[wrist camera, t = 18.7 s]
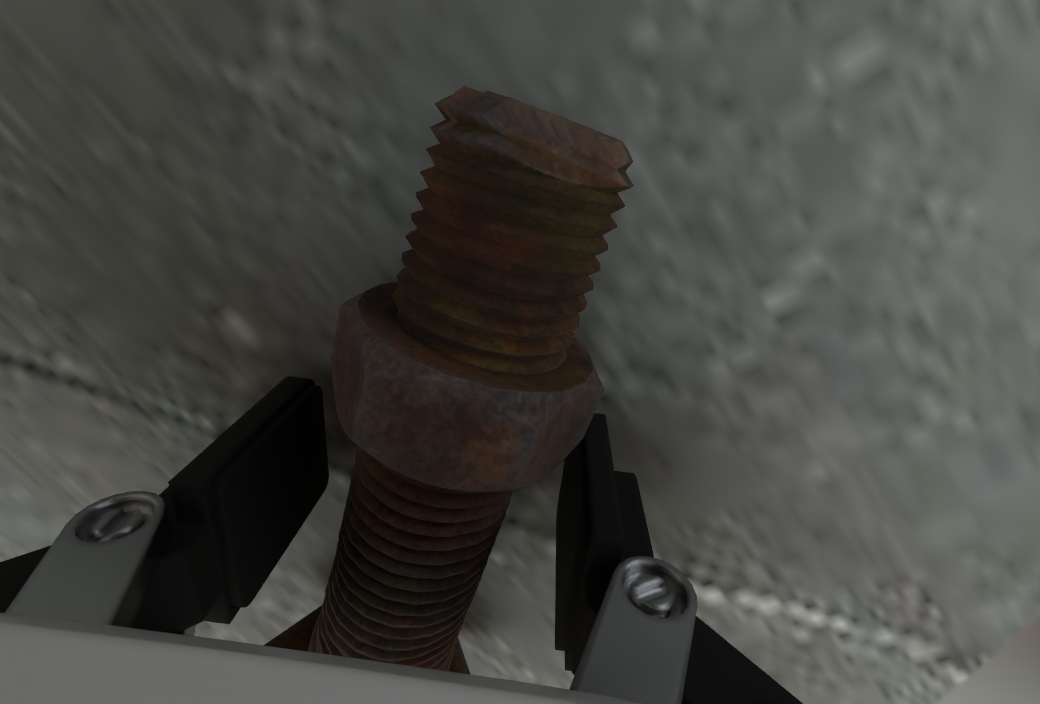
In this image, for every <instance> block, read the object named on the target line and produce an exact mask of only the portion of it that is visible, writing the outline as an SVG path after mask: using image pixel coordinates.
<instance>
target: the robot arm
mask: <svg viewBox="0 0 1040 704" xmlns="http://www.w3.org/2000/svg"><path fill="white" fill-rule="evenodd" d="M328 479H329V470H328V458H327V445H326V433H325V421H324V408H323V396H322V389H321V387H320V386H316V385H315V382H314V380H312V379H307V378H299V377H291V376H288V377H286V378H284V379H283V380H282V381H281V382H280V383H279V384H278V385H277V386H275V387H274V388H273V389H272V390H271V391H270V392H269V393H268V394H267V395H265V396H264V397H263V398H262V399H261V400H260V401H259V402H258V403H256V404H255V405H254V406H253V407H252V408H251V409H250V410H249V411H247V412H246V413H245V414H244V415H243V416H242V417H241V418H240V419H238V420H237V421H236V422H235V423H234V424H233V425H232V426H231V427H230V428H228V429H227V430H226V431H225V432H224V433H223V434H222V435H221V436H219V437H218V438H217V439H216V440H215V441H214V442H213V443H212V444H210V445H209V446H208V447H207V448H206V449H205V450H204V451H203V452H201V453H200V454H199V455H198V456H197V457H196V458H195V459H194V460H193V461H191V462H190V463H189V464H188V465H187V466H186V467H185V468H184V469H182V470H181V471H180V472H179V473H178V474H177V475H176V476H175V477H173V478H172V479H171V480H170V481H169V482H168V483H169V487H168V488H167V489H165V490H164V491H163V492H162V493H161V494H160V495H159V496H158V495H157V494H155V493H151V492H146V491H132V492H126V493H121V494H116V495H113V496H110V497H107V498H104V499H101V500H99V501H97V502H95V503H93V504H91V505H89V506H87V507H86V508H84V509H83V510H81V511H80V512H78V513H77V514H76V515H74V517H73V518H72V519H71V520H70V521H69V522H68V523H67V524H66V525H65V527H64V528H63V530H62V531H61V533H60V534H59V536H58V537H57V538H56V540H55V541H54V543H53V544H52V545H51V546H48V547H45V548H42V549H39V550H36V551H33V552H30V553H27V554H24V555H21V556H18V557H15V558H12V559H9V560H6V561H3V562H0V704H803V703H802V702H800V701H799V700H798V699H797V698H795V697H794V696H793V695H792V694H791V693H789V692H788V691H787V690H786V689H784V688H783V687H782V686H781V685H780V684H778V683H777V682H776V681H775V680H773V679H772V678H771V677H770V676H769V675H767V674H766V673H765V672H764V671H763V670H761V669H760V668H759V667H758V666H756V665H755V664H754V663H753V662H752V661H750V660H749V659H748V658H747V657H745V656H744V655H743V654H742V653H741V652H739V651H738V650H737V649H736V648H734V647H733V646H732V645H731V644H730V643H728V642H727V641H726V640H725V639H724V638H722V637H721V636H720V635H719V634H717V633H716V632H715V631H714V630H713V629H711V628H710V627H709V626H708V625H706V624H705V623H704V622H703V621H702V620H700V619H699V618H698V617H697V616H696V612H697V596H696V593H695V591H694V588H693V586H692V584H691V583H690V582H689V580H688V579H687V578H686V577H685V575H684V574H683V573H681V572H680V571H679V570H678V569H677V568H675V567H674V566H672V565H670V564H669V563H667V562H665V561H663V560H660V559H657V558H654V555H653V551H652V546H651V542H650V537H649V532H648V528H647V523H646V519H645V514H644V510H643V505H642V501H641V496H640V491H639V487H638V482H637V478H636V475H635V474H634V473H629V472H621V471H614V467H613V461H612V454H611V448H610V442H609V435H608V429H607V423H606V417H605V415H604V414H596V413H594V415H593V417H592V419H591V422H590V424H589V426H588V428H587V431H586V433H585V435H584V438H583V439H582V440H581V441H580V442H579V443H578V444H577V446H576V447H575V448H574V449H573V450H572V451H571V452H570V454H569V455H568V456H567V457H566V458H565V463H564V469H563V475H562V481H561V488H560V494H559V500H558V506H557V518H556V599H555V649H556V650H561V651H565V670H569V671H572V673H573V674H574V675H575V676H574V679H573V681H572V684H571V687H570V689H569V690H568V689H561V688H555V687H549V686H543V685H537V684H531V683H524V682H518V681H511V680H504V679H497V678H490V677H483V676H476V675H469V674H462V673H455V672H448V671H442V670H435V669H428V668H421V667H414V666H407V665H400V664H393V663H386V662H379V661H371V660H364V659H357V658H350V657H343V656H335V655H328V654H321V653H314V652H307V651H299V650H292V649H285V648H277V647H270V646H263V645H255V644H248V643H241V642H233V641H226V640H219V639H211V638H203V637H196V636H194V633H195V626H196V624H198V623H200V622H202V621H210V622H217V623H224V624H230V623H231V621H232V620H233V618H234V617H235V615H236V614H237V612H238V611H239V609H240V608H241V607H247V606H248V605H249V604H250V603H251V602H252V601H253V599H254V598H255V596H256V594H257V593H258V591H259V590H260V588H261V587H262V585H263V584H264V582H265V581H266V579H267V578H268V576H269V575H270V573H271V572H272V570H273V569H274V567H275V566H276V564H277V563H278V561H279V559H280V558H281V556H282V555H283V553H284V552H285V550H286V549H287V547H288V546H289V544H290V543H291V541H292V540H293V538H294V537H295V535H296V534H297V532H298V531H299V529H300V528H301V526H302V524H303V523H304V521H305V520H306V518H307V517H308V515H309V514H310V512H311V511H312V509H313V508H314V506H315V505H316V503H317V502H318V500H319V499H320V497H321V496H322V494H323V493H324V491H325V489H326V487H327V484H328Z"/></svg>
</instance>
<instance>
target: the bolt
mask: <svg viewBox="0 0 1040 704" xmlns="http://www.w3.org/2000/svg"><path fill="white" fill-rule="evenodd" d="M435 104H436V106H437V107H438V109H439V110H440V112H441V113H442V115H443V116H444V118H445V119H446V120H445V121H443V122H440V123H438V124H436V125H434V126H431V127H430V128H431V130H432V131H433V133H434V134H435V136H436V137H437V139H438V140H439V142H440V144H438V145H435V146H432V147H429V148H427V151H428V153H429V155H430V157H431V159H432V160H433V162H434V164H435V166H434V167H431V168H429V169H426V170H423V171H421V172H420V173H421V175H422V176H423V178H424V180H425V181H426V183H427V185H428V186H429V188H427V189H425V190H422V191H419V192H416V197H417V199H418V200H419V202H420V204H421V205H422V207H423V210H420V211H417V212H414V213H412V214H411V219H412V221H413V222H414V224H415V225H416V227H417V228H418V229H417V230H414V231H411V232H410V233H409V234H408V235H406V236H405V237H406V238H407V240H408V242H409V243H410V245H411V246H412V248H413V249H411V250H409V251H406V252H403V253H402V262H403V264H404V265H405V266H406V268H404V269H402V270H401V271H400V272H399V273H398V275H397V276H396V277H397V279H398V281H399V282H395V283H386V284H380V285H378V286H376V287H374V288H371V289H369V290H367V291H365V292H363V293H361V294H360V295H358V296H356V297H354V298H352V299H351V300H349V301H347V302H345V303H343V304H342V305H341V307H340V313H339V318H338V324H337V330H336V335H335V341H334V346H333V352H332V357H331V361H332V379H333V390H334V398H335V405H336V412H337V415H338V418H339V420H340V423H341V426H342V429H343V430H344V432H345V433H346V434H347V436H348V437H349V438H350V440H351V441H352V442H354V443H355V444H356V445H357V446H358V447H359V448H358V450H357V453H356V459H355V464H354V467H353V474H352V477H351V483H350V488H349V493H348V498H347V501H346V507H345V511H344V515H343V520H342V524H341V528H340V532H339V541H338V544H337V551H336V555H335V559H334V563H333V566H332V571H331V574H330V577H329V582H328V585H327V587H326V594H325V599H324V602H323V605H322V606H320V607H319V608H317V609H316V610H314V611H313V612H312V613H310V614H309V615H307V616H306V617H304V618H303V619H301V620H300V621H298V622H297V623H295V624H294V625H293V626H291V627H290V628H288V629H287V630H285V631H284V632H282V633H281V634H279V635H278V636H277V637H275V638H274V639H272V640H271V641H269V642H268V643H266V644H265V645H263V646H270V647H277V648H285V649H292V650H299V651H307V652H314V653H321V654H328V655H335V656H343V657H350V658H357V659H364V660H371V661H379V662H386V663H393V664H400V665H407V666H414V667H421V668H428V669H435V670H442V671H448V672H455V673H462V674H469V675H471V674H470V672H469V669H468V666H467V663H466V660H465V657H464V654H463V651H462V648H461V645H460V642H459V639H458V635H459V632H460V629H461V627H462V624H463V621H464V618H465V615H466V613H467V611H468V609H469V607H470V604H471V602H472V599H473V597H474V595H475V592H476V589H477V587H478V584H479V581H480V579H481V577H482V574H483V570H484V568H485V566H486V564H487V560H488V556H489V554H490V553H491V550H492V547H493V545H494V542H495V540H496V536H497V534H498V532H499V529H500V527H501V523H502V521H503V519H504V516H505V514H506V509H507V507H508V505H509V503H510V497H511V495H512V493H513V491H514V490H516V489H520V488H524V487H528V486H530V485H532V484H534V483H536V482H537V481H539V480H541V479H543V478H545V477H546V476H547V475H548V474H549V473H550V472H551V471H552V470H553V469H555V468H556V467H557V466H558V465H559V464H560V463H561V462H562V461H563V460H564V459H565V458H566V457H567V456H568V455H569V454H570V452H571V451H572V450H573V449H574V448H575V447H576V446H577V444H578V443H579V442H580V441H581V440H582V439H583V438H584V435H585V433H586V431H587V428H588V426H589V424H590V422H591V419H592V417H593V415H594V412H595V410H596V408H597V406H598V403H599V401H600V399H601V396H602V394H603V392H604V388H603V386H602V383H601V381H600V379H599V377H598V375H597V373H596V370H595V368H594V366H593V364H592V362H591V359H590V356H589V355H588V353H587V352H586V351H585V349H584V348H583V347H582V345H581V344H580V343H579V342H578V341H577V340H575V339H574V338H573V334H572V330H574V329H576V328H577V327H578V325H579V319H580V316H579V315H578V312H580V311H582V310H584V309H585V308H586V304H587V302H586V300H585V298H584V296H583V294H584V293H586V292H588V291H591V290H593V282H592V280H591V279H590V278H589V276H588V275H590V274H592V273H595V272H597V271H599V270H600V263H599V261H598V260H597V258H596V257H595V256H596V255H598V254H600V253H602V252H604V251H606V250H608V244H607V242H606V241H605V239H604V238H603V236H602V235H604V234H605V233H607V232H609V231H611V230H612V229H614V228H616V227H617V225H616V224H615V222H614V221H613V219H612V217H611V216H610V214H612V213H613V212H615V211H617V210H619V209H621V208H623V207H625V205H624V203H623V202H622V200H621V198H620V197H619V195H618V194H617V193H618V192H620V191H623V190H626V189H628V188H631V187H633V184H632V182H631V181H630V179H629V177H628V176H627V174H626V172H625V171H626V169H627V168H628V167H629V166H630V165H631V164H632V162H633V160H632V158H631V156H630V154H629V152H628V149H627V148H626V146H625V145H624V143H623V142H622V141H620V140H618V139H615V138H613V137H610V136H608V135H605V134H603V133H600V132H598V131H595V130H593V129H590V128H587V127H585V126H582V125H580V124H577V123H575V122H572V121H570V120H567V119H564V118H562V117H559V116H556V115H554V114H551V113H549V112H546V111H543V110H541V109H538V108H535V107H533V106H530V105H528V104H525V103H522V102H520V101H517V100H514V99H512V98H509V97H506V96H502V95H499V94H496V93H493V92H490V91H487V92H483V93H481V92H479V91H476V90H474V89H471V88H468V87H466V86H463V87H462V88H461V89H459V90H458V91H457V92H455V93H454V94H453V95H451V96H448V97H446V98H444V99H442V100H440V101H438V102H436V103H435Z"/></svg>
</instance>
